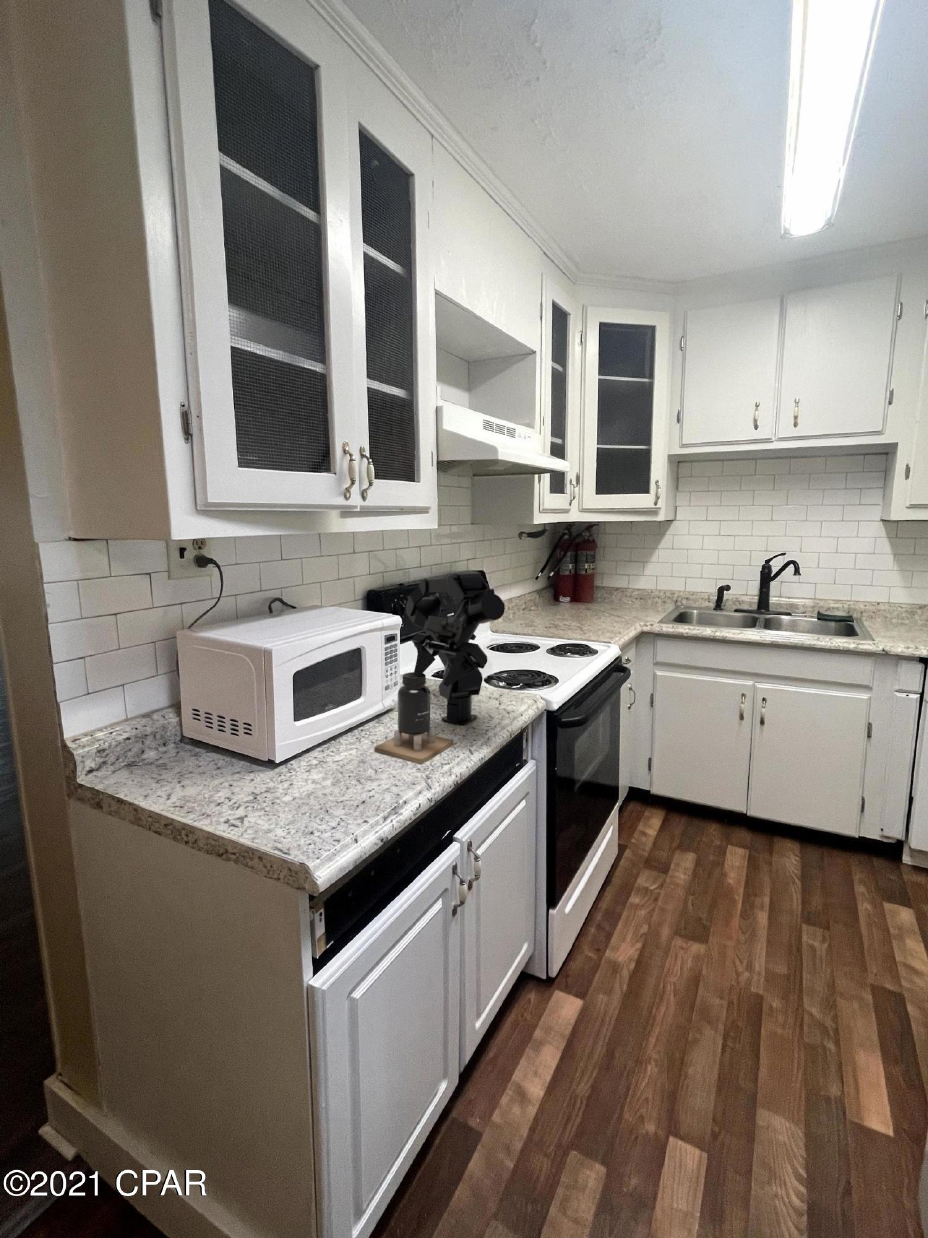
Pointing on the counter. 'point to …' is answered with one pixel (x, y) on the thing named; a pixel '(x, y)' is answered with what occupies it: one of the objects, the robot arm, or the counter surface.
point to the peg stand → (414, 746)
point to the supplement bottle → (414, 704)
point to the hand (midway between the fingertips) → (429, 681)
